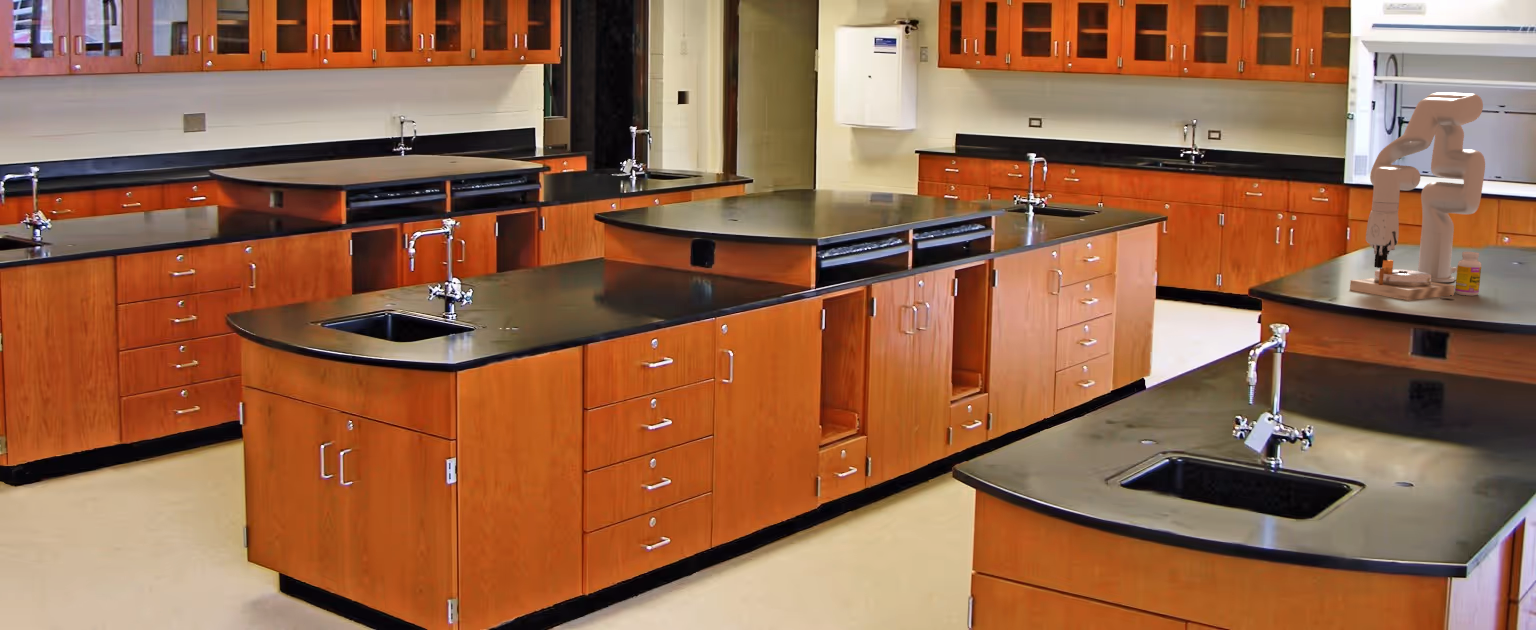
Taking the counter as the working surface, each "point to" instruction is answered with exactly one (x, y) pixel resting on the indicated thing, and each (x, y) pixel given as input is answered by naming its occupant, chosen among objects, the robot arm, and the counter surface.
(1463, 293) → the supplement bottle
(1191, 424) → the counter surface
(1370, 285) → the dial base
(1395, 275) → the dial
